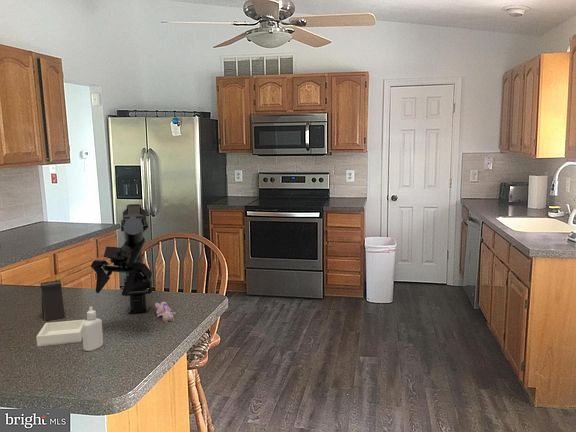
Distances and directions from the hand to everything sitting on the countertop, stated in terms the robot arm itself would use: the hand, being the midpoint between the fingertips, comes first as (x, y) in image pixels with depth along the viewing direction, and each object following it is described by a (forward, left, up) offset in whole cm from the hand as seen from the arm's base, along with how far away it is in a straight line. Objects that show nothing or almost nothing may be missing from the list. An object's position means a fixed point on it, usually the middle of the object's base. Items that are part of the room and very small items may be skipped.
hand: (109, 294), depth 144 cm
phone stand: (-26, -21, -14) cm, 37 cm away
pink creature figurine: (-15, +15, -14) cm, 26 cm away
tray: (-4, -14, -13) cm, 20 cm away
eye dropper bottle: (+7, -4, -14) cm, 16 cm away
